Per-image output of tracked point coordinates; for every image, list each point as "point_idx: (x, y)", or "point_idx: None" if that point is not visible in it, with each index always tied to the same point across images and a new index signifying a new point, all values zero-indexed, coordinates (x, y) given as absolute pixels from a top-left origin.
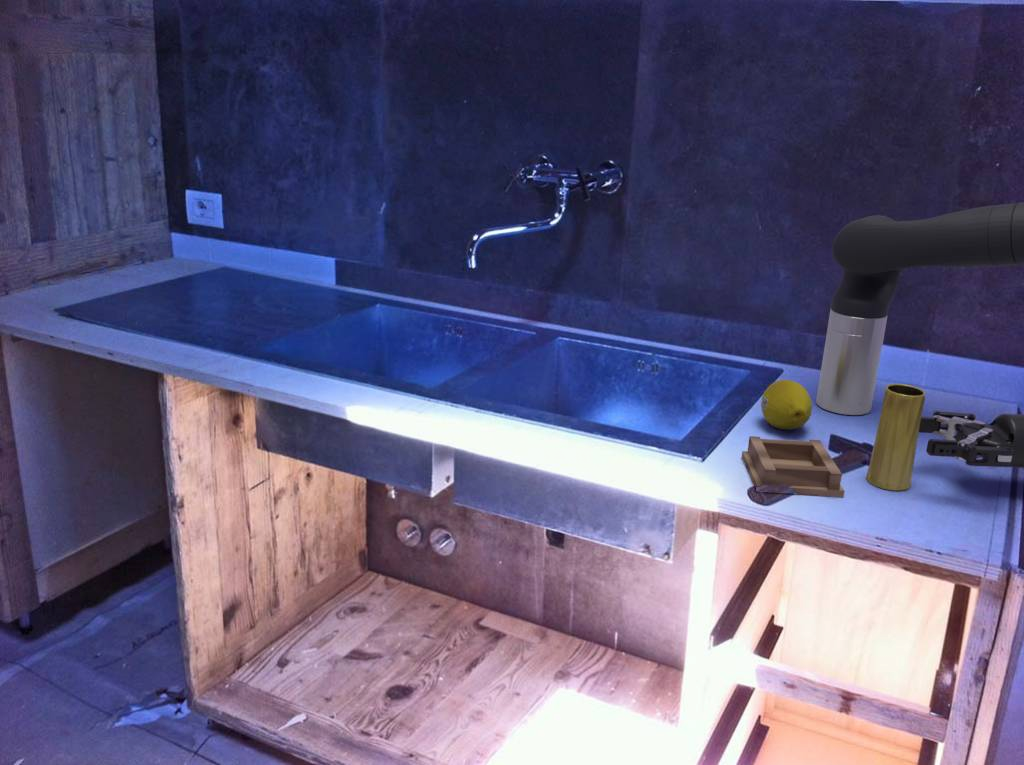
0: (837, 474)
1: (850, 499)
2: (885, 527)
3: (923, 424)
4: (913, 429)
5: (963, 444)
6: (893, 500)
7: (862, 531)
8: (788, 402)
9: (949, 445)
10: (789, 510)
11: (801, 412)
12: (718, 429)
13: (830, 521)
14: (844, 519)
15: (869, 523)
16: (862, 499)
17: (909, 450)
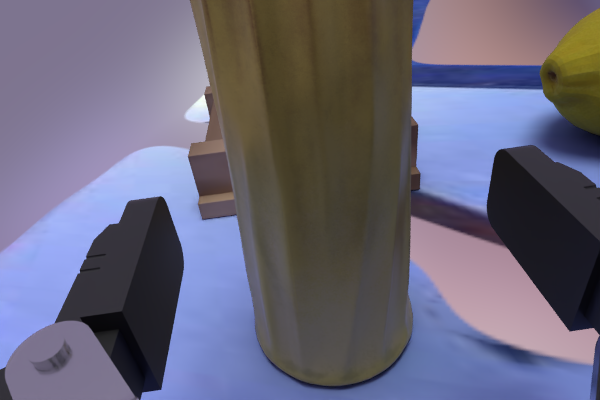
0: (190, 152)
1: (192, 230)
2: (26, 282)
3: (543, 232)
4: (223, 122)
5: (23, 348)
6: (187, 317)
7: (25, 242)
8: (565, 37)
9: (89, 284)
10: (144, 158)
11: (556, 71)
12: (498, 80)
13: (87, 200)
14: (90, 218)
15: (58, 255)
16: (193, 250)
17: (243, 221)
